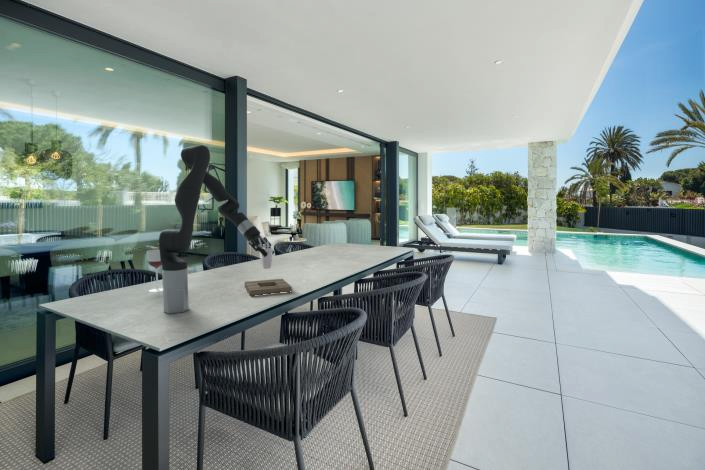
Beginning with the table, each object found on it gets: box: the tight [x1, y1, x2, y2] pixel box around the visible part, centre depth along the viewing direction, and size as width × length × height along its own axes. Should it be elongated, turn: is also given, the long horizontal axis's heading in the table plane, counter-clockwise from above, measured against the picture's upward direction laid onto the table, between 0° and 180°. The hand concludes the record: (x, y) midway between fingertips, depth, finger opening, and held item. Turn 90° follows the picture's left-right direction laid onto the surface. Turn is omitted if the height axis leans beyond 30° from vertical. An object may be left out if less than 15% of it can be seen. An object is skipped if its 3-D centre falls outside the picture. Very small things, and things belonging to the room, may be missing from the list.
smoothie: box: [260, 240, 274, 270], centre depth 180 cm, size 6×6×14 cm
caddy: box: [244, 278, 293, 297], centre depth 181 cm, size 20×20×3 cm
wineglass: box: [145, 249, 163, 293], centre depth 178 cm, size 8×9×20 cm
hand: (269, 254), depth 180 cm, fingers closed on smoothie, 6 cm apart
